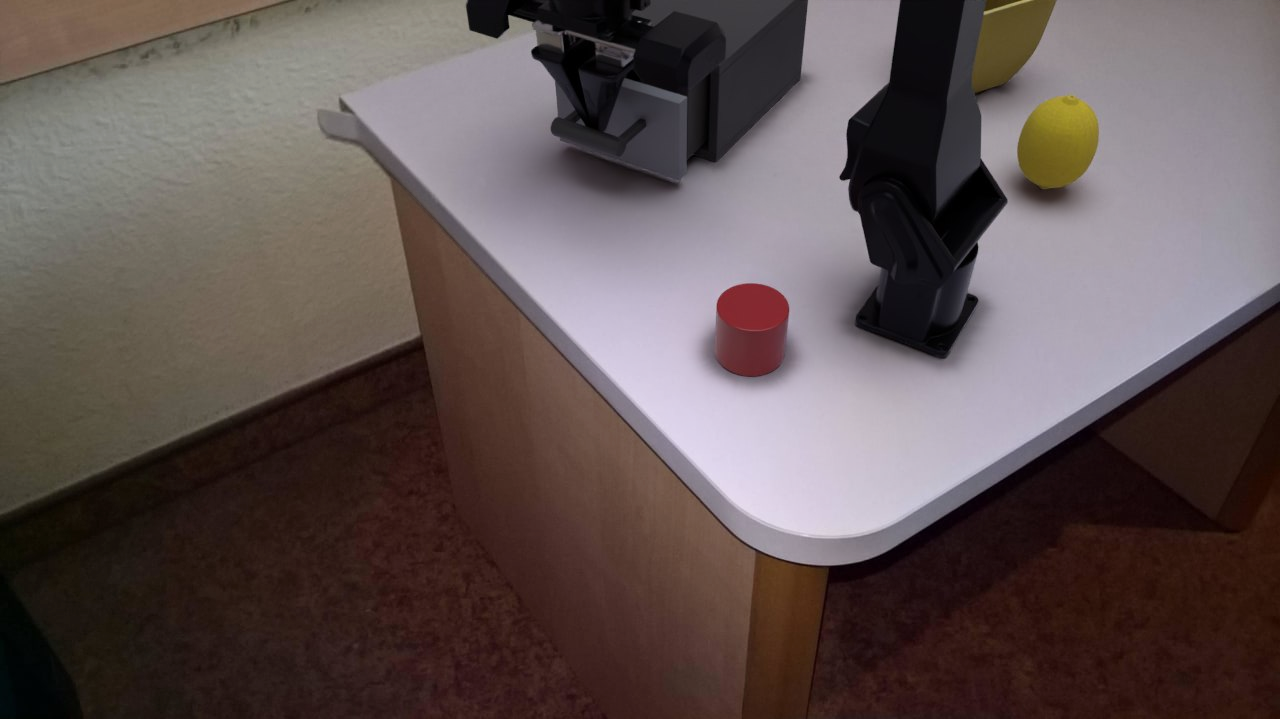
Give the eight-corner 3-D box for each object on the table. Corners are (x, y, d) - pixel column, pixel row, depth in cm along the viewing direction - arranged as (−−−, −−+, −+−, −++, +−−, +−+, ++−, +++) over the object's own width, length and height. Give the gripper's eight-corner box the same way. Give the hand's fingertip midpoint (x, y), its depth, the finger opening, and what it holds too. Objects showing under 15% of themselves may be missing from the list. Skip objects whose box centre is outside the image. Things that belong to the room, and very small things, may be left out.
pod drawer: (648, 210, 77) (646, 132, 73) (527, 167, 82) (518, 91, 77) (764, 98, 89) (769, 23, 84) (652, 65, 93) (651, -7, 88)
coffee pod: (764, 386, 65) (768, 340, 62) (701, 360, 67) (703, 314, 64) (796, 343, 68) (801, 298, 65) (735, 319, 70) (738, 274, 67)
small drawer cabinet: (716, 162, 83) (719, 65, 77) (588, 120, 88) (582, 26, 82) (800, 78, 93) (809, -14, 87) (680, 45, 98) (681, -45, 92)
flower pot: (894, 70, 93) (910, -27, 87) (970, 47, 96) (991, -49, 90) (958, 114, 88) (980, 14, 81) (1036, 88, 90) (1063, -10, 84)
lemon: (995, 193, 80) (1020, 101, 74) (1023, 160, 83) (1049, 69, 77) (1065, 217, 77) (1096, 125, 72) (1091, 183, 80) (1123, 91, 75)
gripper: (770, -90, 68) (756, 116, 79) (544, -139, 76) (560, 56, 87) (684, -27, 62) (682, 188, 73) (446, -87, 69) (477, 117, 80)
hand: (598, 131), depth 78 cm, fingers closed, pressing on pod drawer
